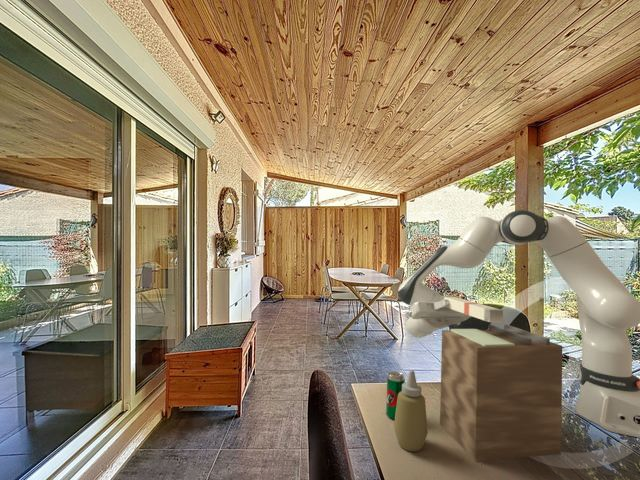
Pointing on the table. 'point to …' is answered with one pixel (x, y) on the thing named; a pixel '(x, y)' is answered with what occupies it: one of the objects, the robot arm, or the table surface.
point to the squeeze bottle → (411, 416)
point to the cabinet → (502, 394)
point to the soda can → (393, 392)
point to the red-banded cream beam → (475, 309)
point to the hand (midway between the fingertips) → (454, 301)
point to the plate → (482, 337)
